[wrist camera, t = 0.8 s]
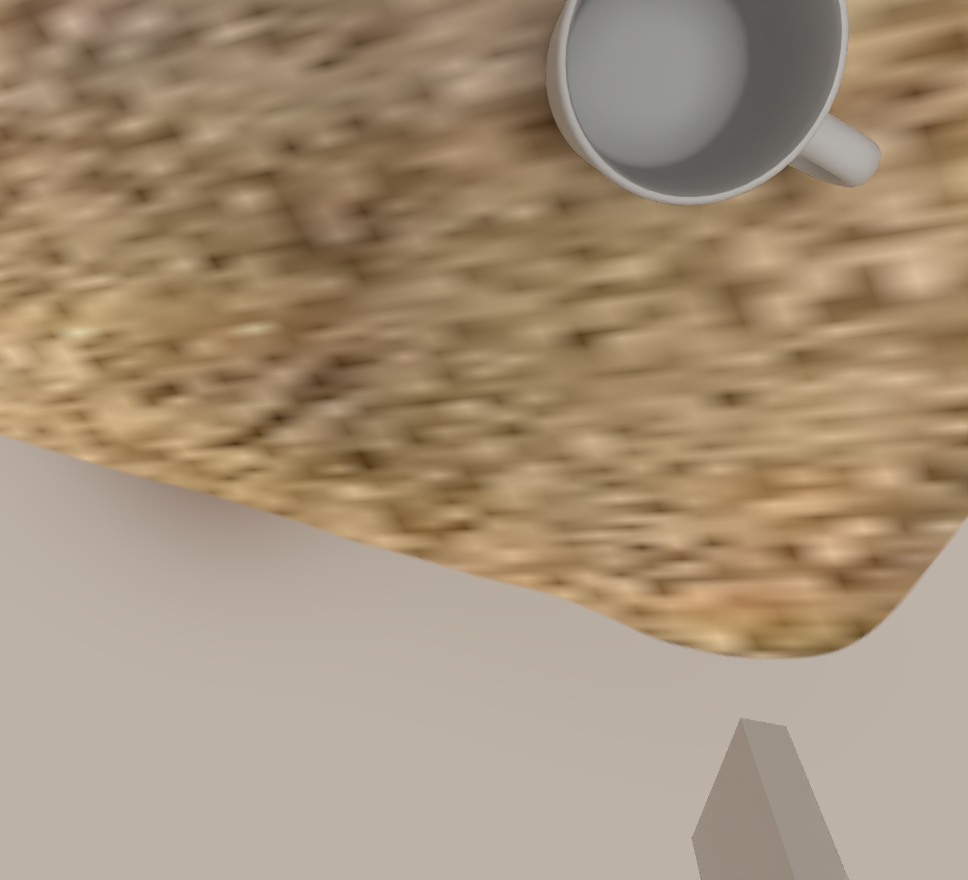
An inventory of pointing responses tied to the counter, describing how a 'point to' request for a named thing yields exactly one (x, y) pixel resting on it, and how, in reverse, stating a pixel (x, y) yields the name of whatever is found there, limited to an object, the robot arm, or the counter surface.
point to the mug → (705, 94)
